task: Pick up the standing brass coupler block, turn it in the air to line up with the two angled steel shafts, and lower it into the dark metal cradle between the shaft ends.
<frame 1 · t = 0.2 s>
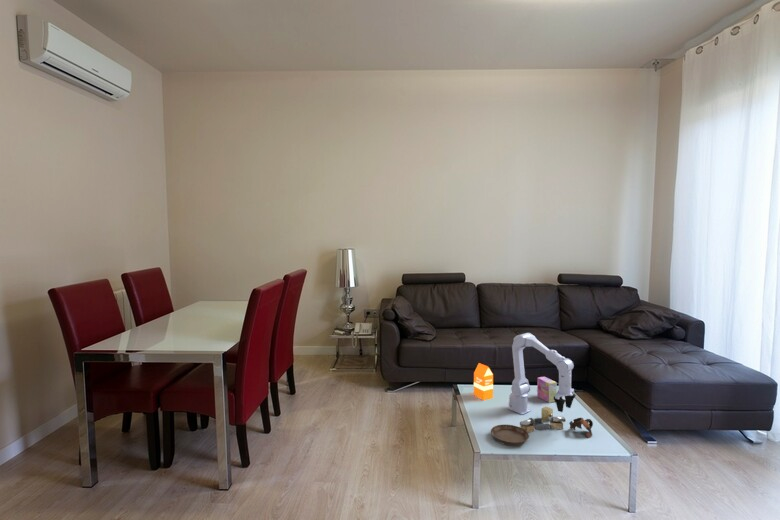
hand: (564, 409, 195), 10 cm above the table, fingers open, 7 cm apart
coupler: (547, 419, 205), on the table
cradle: (539, 426, 198), on the table
pottery mug: (582, 433, 191), on the table
shaft b: (527, 430, 194), on the table
orange juice: (483, 397, 235), on the table
shaft a: (556, 426, 197), on the table
plant saucer: (509, 439, 186), on the table
box: (546, 399, 231), on the table
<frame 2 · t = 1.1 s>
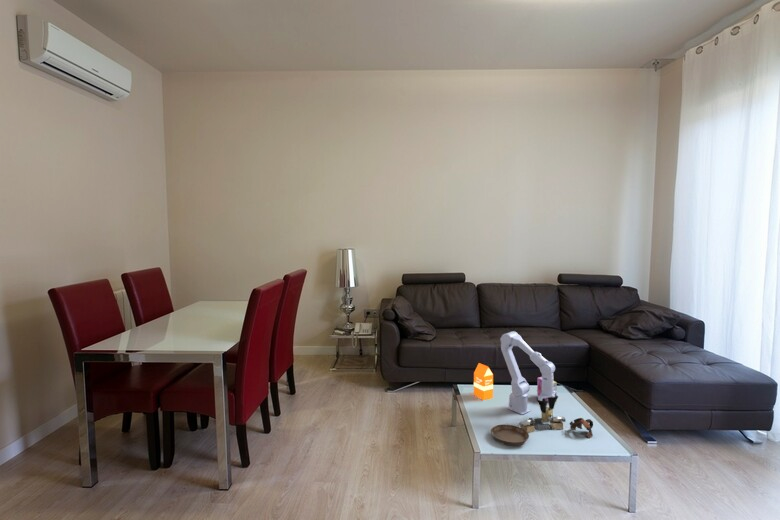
hand: (547, 410, 205), 5 cm above the table, fingers open, 7 cm apart
nothing on the table moved.
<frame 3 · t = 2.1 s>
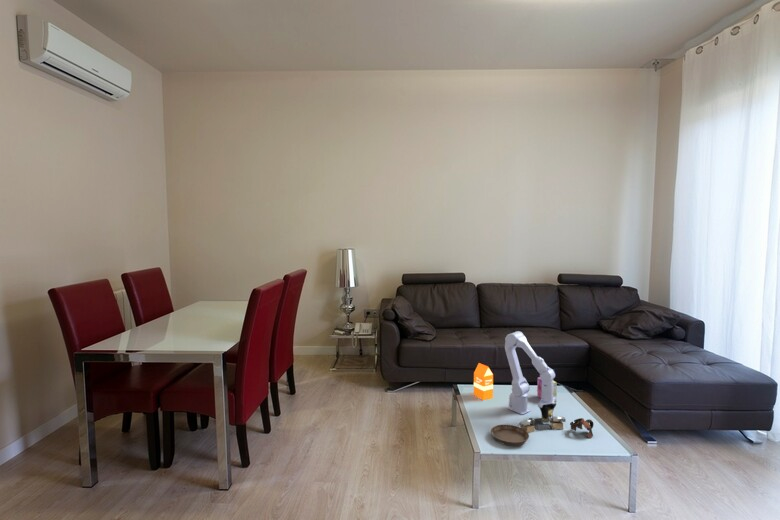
hand: (547, 416, 205), 1 cm above the table, fingers closed on coupler, 4 cm apart
coupler: (547, 419, 205), on the table, touching gripper
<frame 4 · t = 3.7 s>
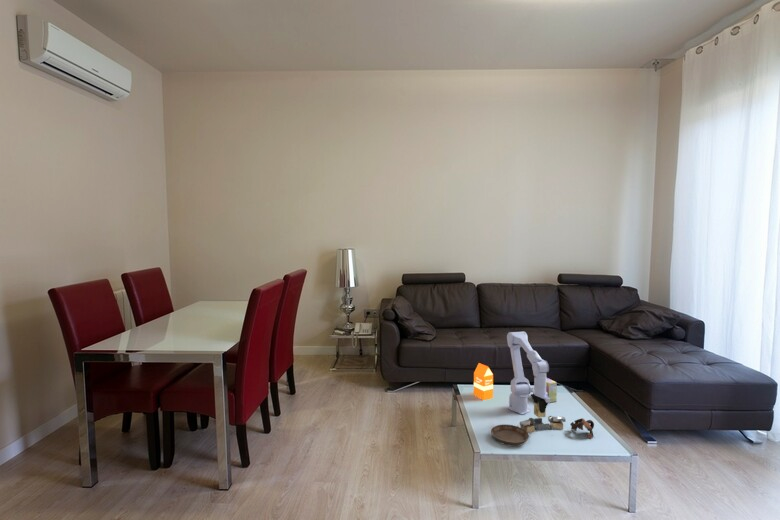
hand: (539, 410, 197), 8 cm above the table, fingers closed on coupler, 4 cm apart
coupler: (539, 415, 197), point 6 cm above the table, touching gripper
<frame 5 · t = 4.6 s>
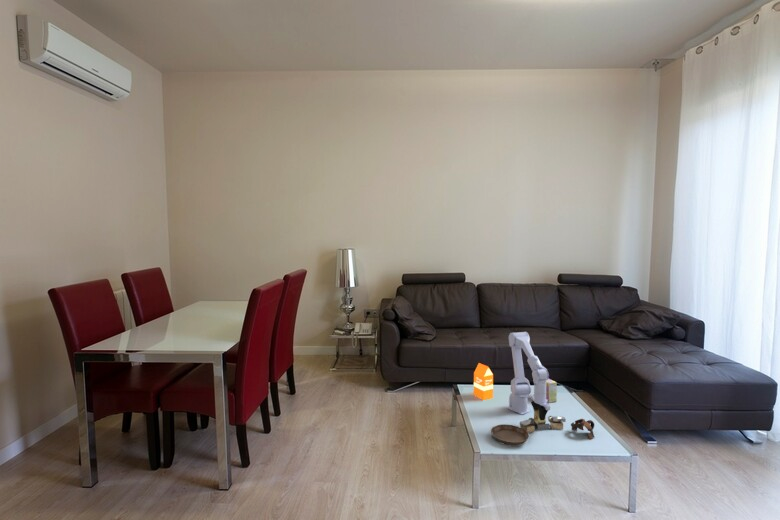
hand: (539, 417, 197), 5 cm above the table, fingers closed on coupler, 4 cm apart
coupler: (539, 422, 197), point 2 cm above the table, touching gripper
when the fingers open (3 cm above the table, at t = 5.3 s): coupler stays where it is, resting on cradle.
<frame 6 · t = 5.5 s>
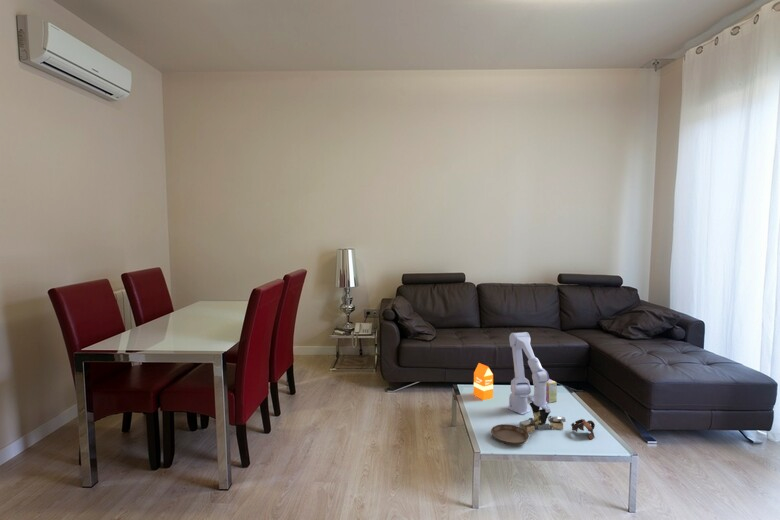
hand: (539, 420, 197), 3 cm above the table, fingers open, 6 cm apart
coupler: (539, 425, 198), point 1 cm above the table, touching cradle
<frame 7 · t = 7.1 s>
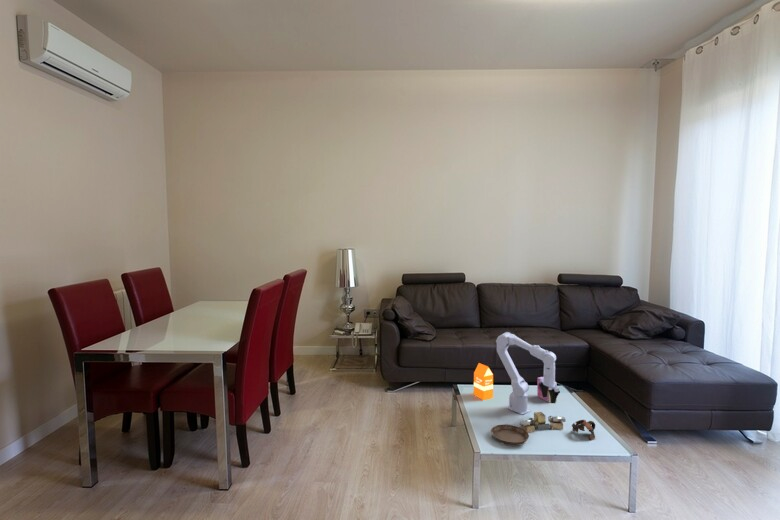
hand: (548, 399, 207), 10 cm above the table, fingers open, 7 cm apart
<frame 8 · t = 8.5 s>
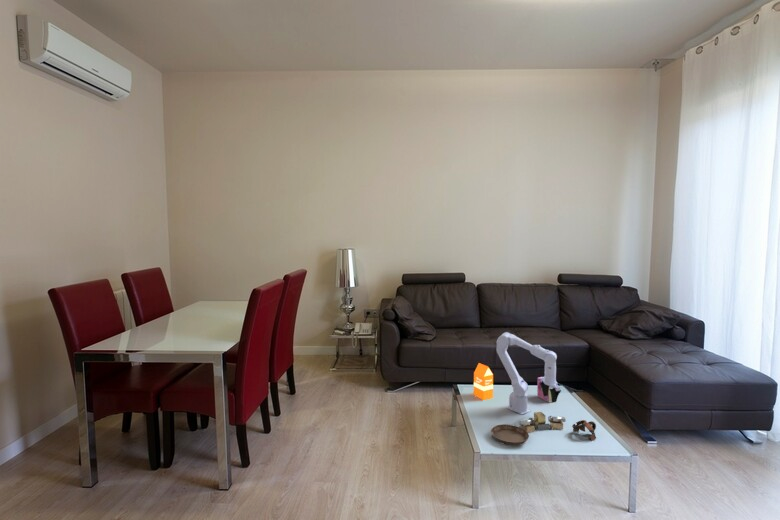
hand: (549, 398, 208), 10 cm above the table, fingers open, 7 cm apart
at the end: coupler 0.0 cm off-centre on the cradle, point 0.6 cm above the cradle's base; coupler tilted 0°; the gripper is holding nothing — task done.
